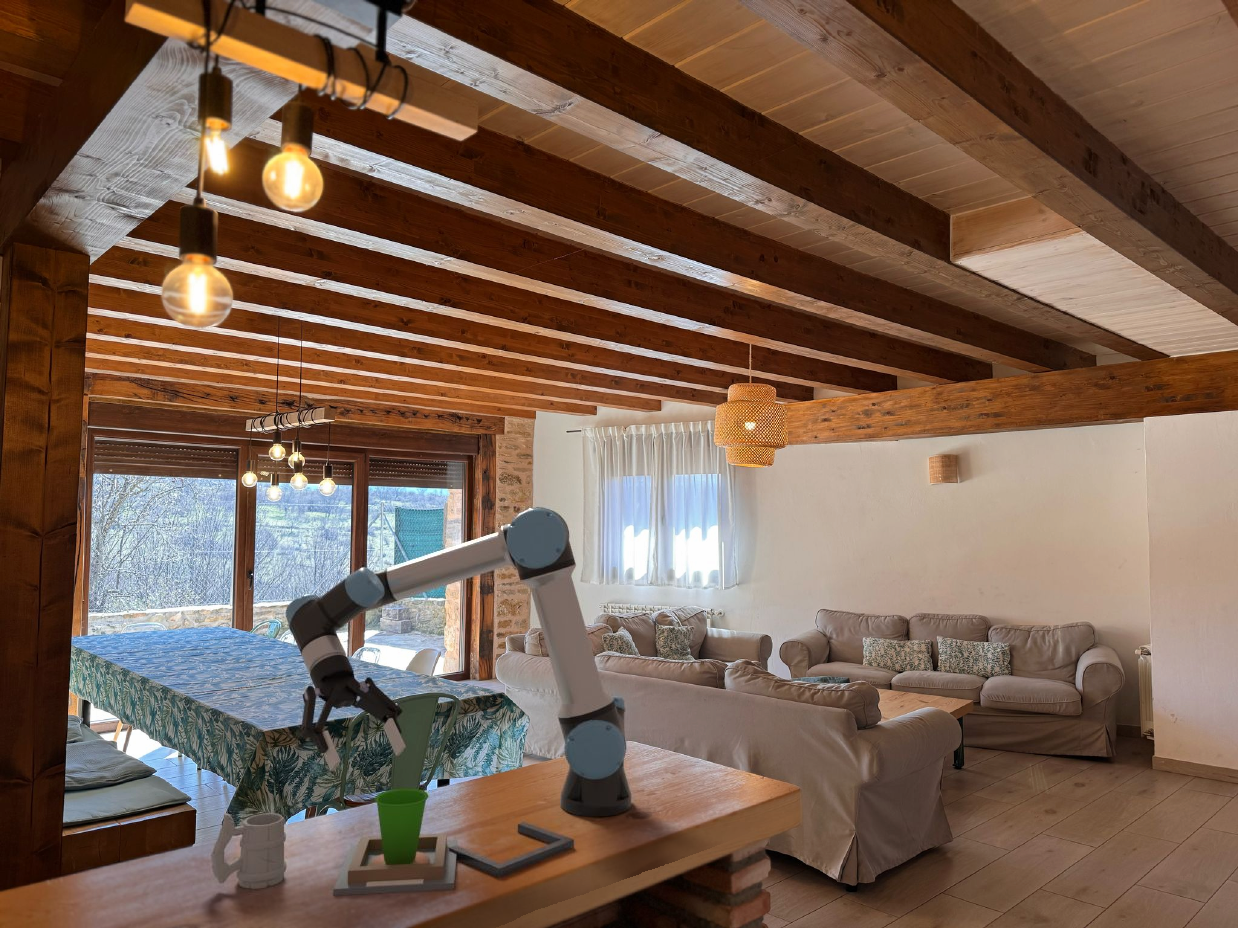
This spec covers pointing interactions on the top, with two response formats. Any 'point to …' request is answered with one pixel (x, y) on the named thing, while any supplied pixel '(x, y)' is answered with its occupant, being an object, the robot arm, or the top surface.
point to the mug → (252, 851)
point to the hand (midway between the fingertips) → (369, 758)
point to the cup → (400, 823)
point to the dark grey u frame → (501, 869)
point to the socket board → (400, 888)
